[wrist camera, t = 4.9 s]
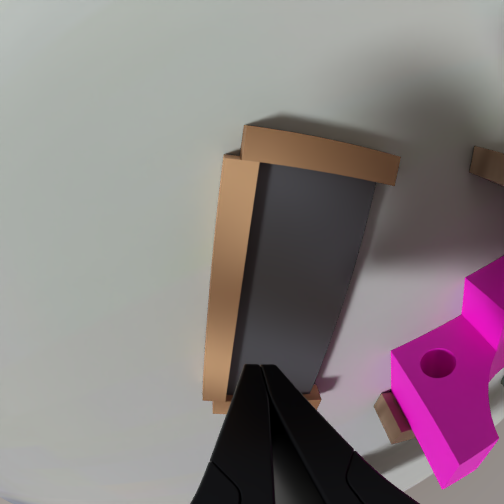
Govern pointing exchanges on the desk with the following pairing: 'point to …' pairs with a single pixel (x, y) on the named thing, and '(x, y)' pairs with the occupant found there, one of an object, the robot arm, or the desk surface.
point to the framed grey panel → (293, 257)
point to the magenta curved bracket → (455, 379)
